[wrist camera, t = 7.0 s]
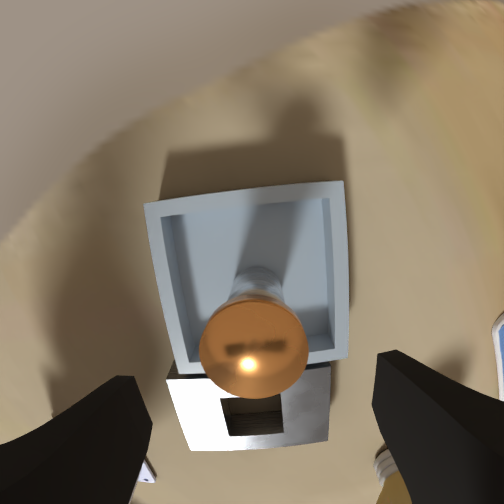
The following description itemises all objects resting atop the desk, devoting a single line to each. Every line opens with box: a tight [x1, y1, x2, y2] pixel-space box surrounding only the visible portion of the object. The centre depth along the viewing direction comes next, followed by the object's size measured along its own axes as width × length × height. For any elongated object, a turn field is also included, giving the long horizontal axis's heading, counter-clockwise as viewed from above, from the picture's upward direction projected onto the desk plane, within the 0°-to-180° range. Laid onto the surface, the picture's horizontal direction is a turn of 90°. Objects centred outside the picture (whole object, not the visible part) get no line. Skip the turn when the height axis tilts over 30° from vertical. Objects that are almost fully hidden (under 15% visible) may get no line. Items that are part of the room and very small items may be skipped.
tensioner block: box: [166, 359, 331, 451], centre depth 19 cm, size 10×7×2 cm
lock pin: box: [199, 266, 309, 399], centre depth 14 cm, size 4×4×8 cm
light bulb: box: [374, 449, 412, 504], centre depth 17 cm, size 6×6×10 cm
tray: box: [143, 181, 349, 374], centre depth 17 cm, size 10×10×2 cm
